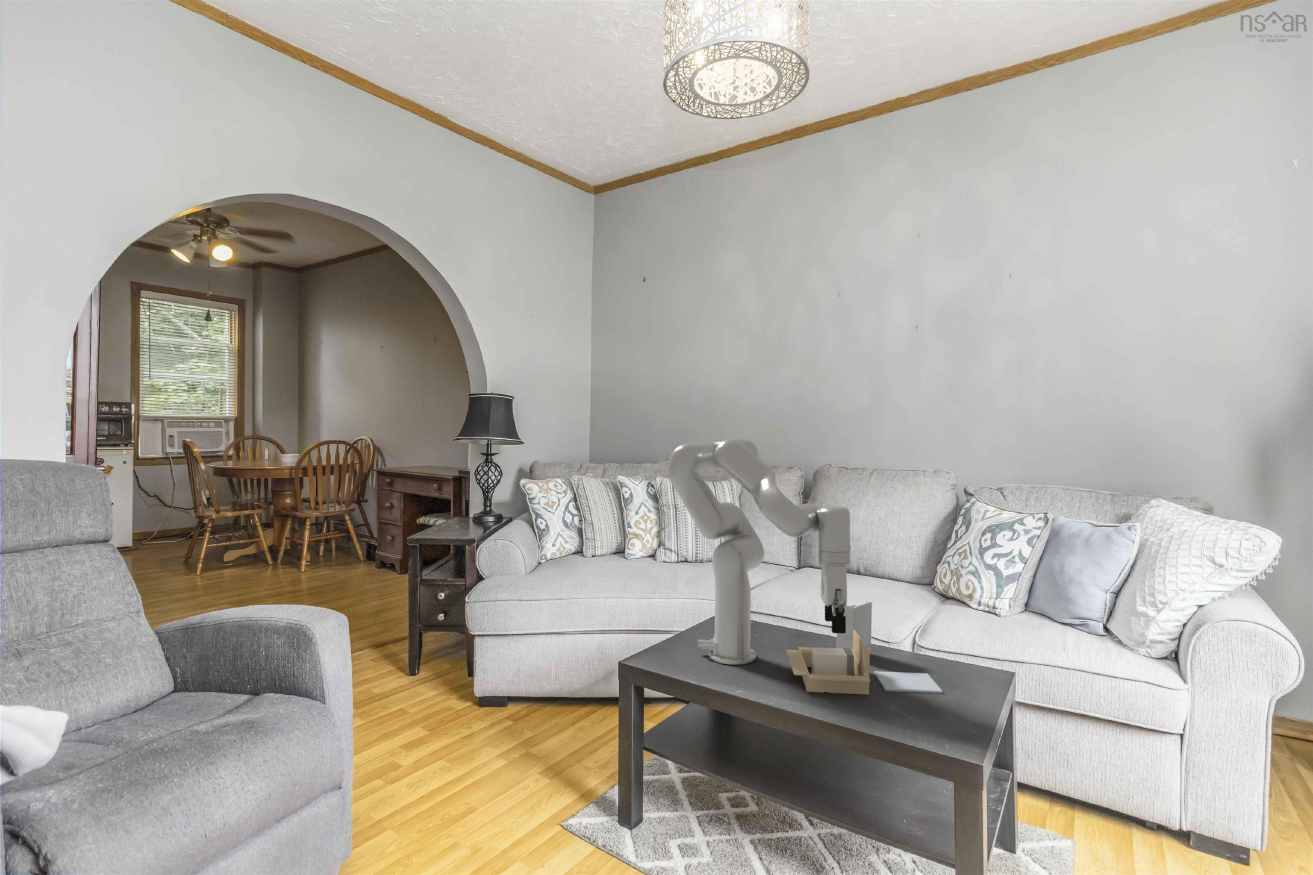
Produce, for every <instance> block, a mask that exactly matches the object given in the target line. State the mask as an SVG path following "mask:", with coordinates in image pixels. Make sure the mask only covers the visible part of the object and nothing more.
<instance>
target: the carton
mask: <svg viewBox="0 0 1313 875" xmlns="http://www.w3.org/2000/svg"><path fill="white" fill-rule="evenodd" d="M851 651H852V649H851ZM852 653H853V654H854V676H846V675H822V674H812V673H810V672H809V669H808V668H807V667H812V647H807V646H804V647H803V646H802V647H801V646H798V649H786V654H787V656H788V659H789V662H790V667H791V669H792V672H793V675H794V676H801V675H802V676H801V678H803V679H802V681H804V682H803V685H804V686H805V691H806V692H807V693H809V692H810V693H824V692H826V693H827V692H828V693H829V694H850V695H851V694H852V695H870V683H871V678H870V667H871V666H870V663H871V661H870V657H871V654H870V651H869V650H868V649H867V647H866V646H865V644H864V643H863V641H862V640H861V638H860V637H859V635H858V634H857V632H856V631H855V630H853V651H852ZM826 693H825V694H826Z"/></svg>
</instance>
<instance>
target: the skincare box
mask: <svg viewBox="0 0 1313 875" xmlns="http://www.w3.org/2000/svg"><path fill="white" fill-rule="evenodd" d="M844 608H845V616H846V633H836V648H840V649H843V648H850V649H852V651H853V630H855V631H856V632H857V634H858V635H859V637H860V638H861V640H862V641H863V643H864V644H865V646H866V647H867V649H868V650H869V651H870V655H871V654H872V618H873V617H872V615H873V614H872V612H873V609H872V608H873V602H872V601H869V600H867V599H863V598H862V599H861V598H859V597H855V596H853V597H851V598H847V605H846V606H845V607H844Z"/></svg>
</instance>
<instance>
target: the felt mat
mask: <svg viewBox="0 0 1313 875" xmlns="http://www.w3.org/2000/svg"><path fill="white" fill-rule="evenodd" d="M873 673H875V674H874V675H875V677H876V679H877V680H878V682H879V683H880V684H881V686H882V688H883V689H884V690H885V691H886V692H900V693H901V692H902V693H904V692H905V693H922V694H923V693H924V694H925V693H926V694H927V693H928V694H943V690H942V689H941V688H940V686H939V685H938V684H937V682H935V680H934V679H933V678H932V677H931V675H929V674H928V673H924V672H923V673H922V672H905V671H904V672H899V671H877V670H876V671H875V670H874V671H873Z"/></svg>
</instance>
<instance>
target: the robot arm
mask: <svg viewBox="0 0 1313 875" xmlns="http://www.w3.org/2000/svg"><path fill="white" fill-rule="evenodd" d="M719 471H720V472H721V471H724V472H726V473H727V475H729V476H730V477H731V478H733V479H734V480H735V481H736V482H737V483H738V484H739V485H740V486H741V487H742V488H743V489H745V491H747V493H749V494H750V495H751V497H752V498H753V500H754V502H755V504H756V505H757V507H758V509H759V511H760V512H761V513H762V515H763V516H764V517H765V518H766V519H767V520H768V521H769V522H771V523H772V525H774V526H775V527H776V528H777V529H778V530H780V531H781V532H782V533H783V534H785V535H787V536H789V537H793V538H802V537H804V536H807V535H811V534H813V533H818V538H817V540H818V564H821V570H820V573H821V574H820V599H821V600H822V602H823V603H824V621H825V622H831V632H832V634H837V633H846V616H845V608H844V607H845V606H846V605H847V600H848V580H847V577H848V576H847V574H848V573H847V566H850V565H851V514H850V513H851V512H850V510H849V508H848V507H845V506H839V505H826V506H825V505H820V504H815V503H811V502H810V503H808V502H807V503H803V504H797V505H796V504H795V503H794V502H792V501H791V500H790V499H789V498H788V497H787V496H786V495H784V494H783V492H782V491H781V490H780V489H779V487H778V485H777V482H776V473H775V471H774V469H772V468H771V467H770V466H768V465H767V464H766V462H764V460H762V459H760V457H759V450H758V448H757V445H756V444H754V442H752V441H751V440H749V439H746V438H728V439H725V440H721V441H708V442H689V443H683V444H681V445H679V446H677V447H676V448H675V449H674V450H673V451H672V452H671V455H670V457H669V460H668V465H667V473H668V478H669V480H670V483H671V485H672V487H673V489H674V491H676V493H677V494H678V496H679V498H680V500H681V501H682V502H683V505H684V506H685V508H686V510H687V512H688V513H689V515H690V517H691V519H692V520H693V522H694V524H695V526H696V528H697V529H698V530H699V533H700V534H701V535H702V536H703V537H704V538H705V539H707V540H711V541H712V540H713V541H714V540H719V539H723V541H722V542H720V543H719V544H718V545H717V546H716V547H715V549H714V551H713V553H712V558H711V561H712V562H711V563H712V571H713V578H714V635H713V638H709V639H708V640H707V639H697V648H701V650H708V657H709V658H710V659H711V660H712V661H714V662H716V663H719V664H724V665H733V666H734V665H735V666H737V665H738V666H739V665H747V664H749V663H752V662H754V661H755V660H756V658H757V657H756V656H757V653H756V652H755V651H754V650H753V649H752V648H751V608H752V606H751V604H752V601H751V598H752V597H751V595H752V594H751V583H750V579H749V574H748V571H750V570H754V569H755V568H758V567H759V566H760V565H761V564H762V563H763V561H764V558H765V549H764V545H763V543H762V541H761V538H760V537H759V536H758V534H757V532H756V531H755V529H754V528H753V526H752V524H751V523H750V521H749V519H748V517H747V516H746V514H745V513H744V511H743V510H742V509H741V508H740V507H739V506H738V505H737V504H734V503H732V502H727V501H726V502H725V501H723V502H720V501H719V500H718V499H717V497H716V496H715V493H714V492H713V490H712V488H711V487H710V486H709V484H708V483H707V482H706V481H705V480H704V479H703V478H702V477H701V476H700V475H699V474H700V473H701V474H702V473H710V472H719Z"/></svg>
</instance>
